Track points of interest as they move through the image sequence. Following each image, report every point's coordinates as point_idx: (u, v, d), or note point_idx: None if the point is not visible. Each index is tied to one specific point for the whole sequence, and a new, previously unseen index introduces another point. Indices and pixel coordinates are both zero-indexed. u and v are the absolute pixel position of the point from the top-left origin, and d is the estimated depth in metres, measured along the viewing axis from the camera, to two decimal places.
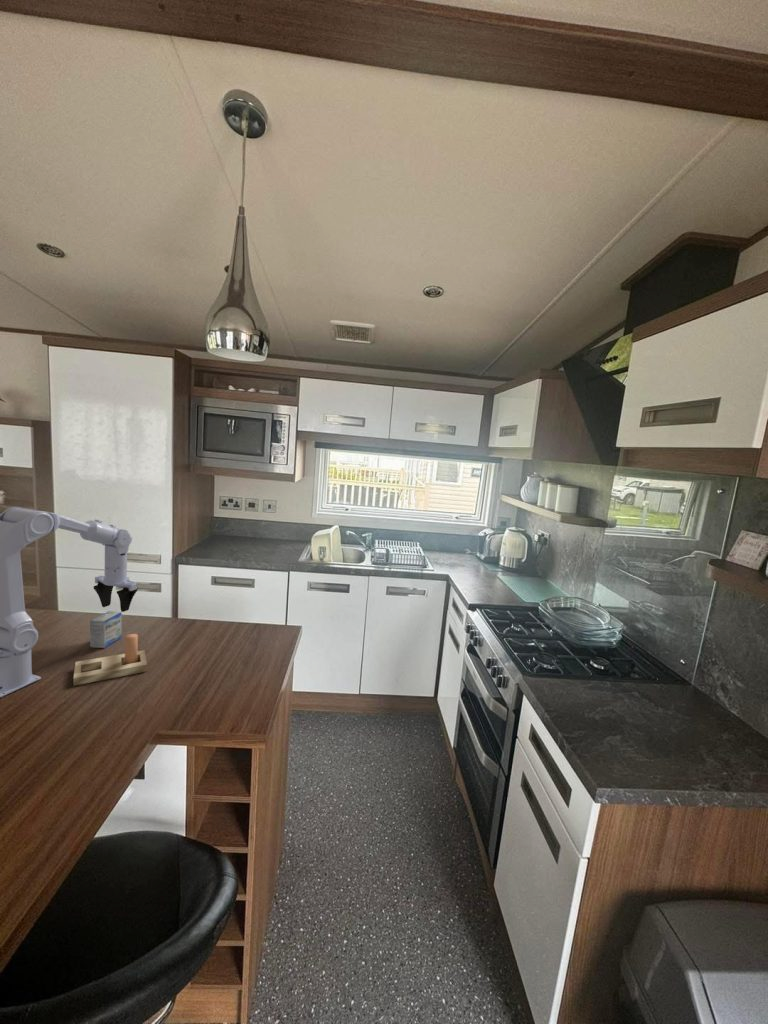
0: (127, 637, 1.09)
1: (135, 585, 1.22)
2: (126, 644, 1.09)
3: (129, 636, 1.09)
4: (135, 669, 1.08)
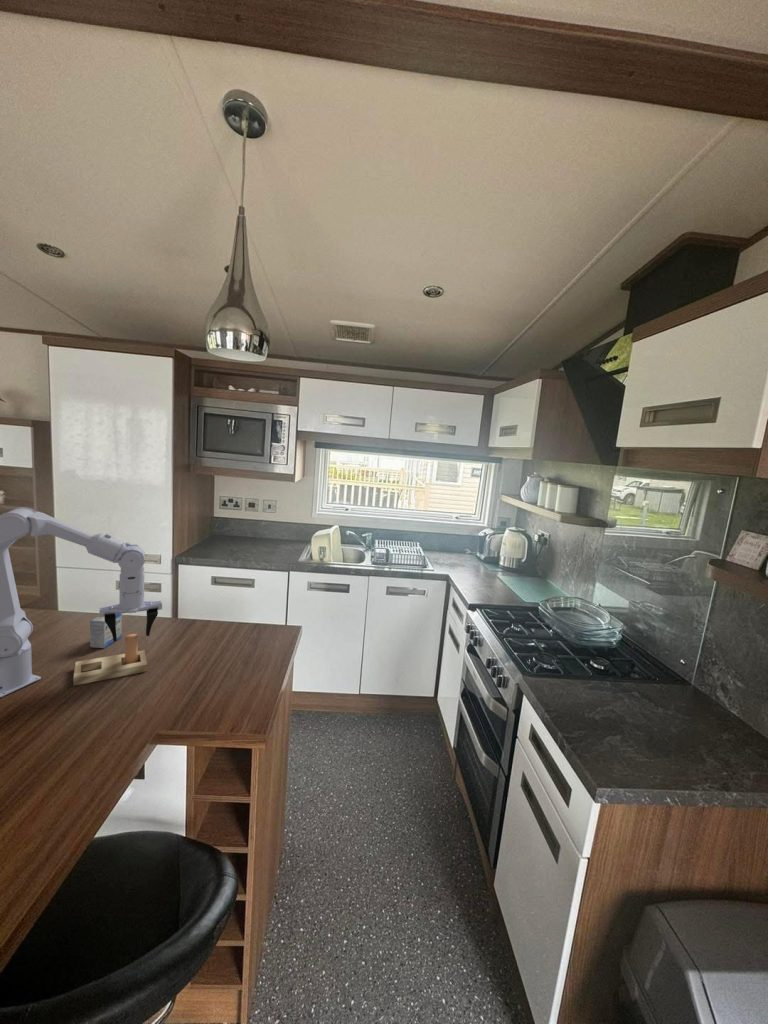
0: (127, 637, 1.09)
1: (99, 611, 1.04)
2: (126, 644, 1.09)
3: (129, 636, 1.09)
4: (135, 669, 1.08)
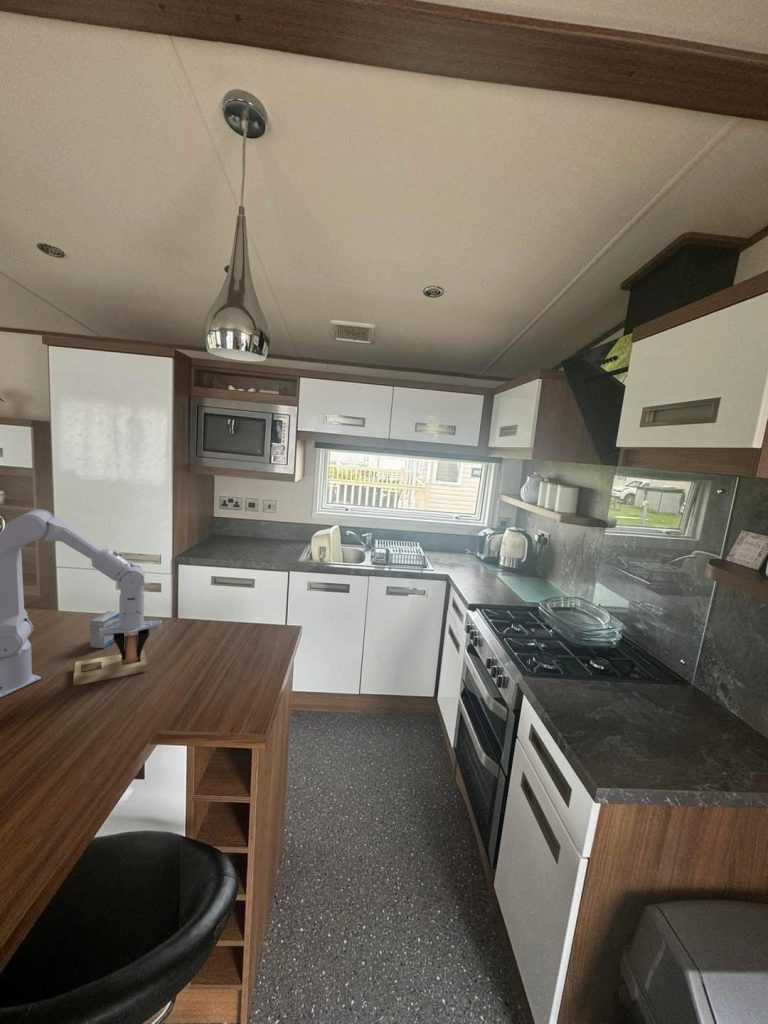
0: (127, 637, 1.09)
1: (99, 632, 1.05)
2: (126, 644, 1.09)
3: (129, 636, 1.09)
4: (135, 669, 1.08)
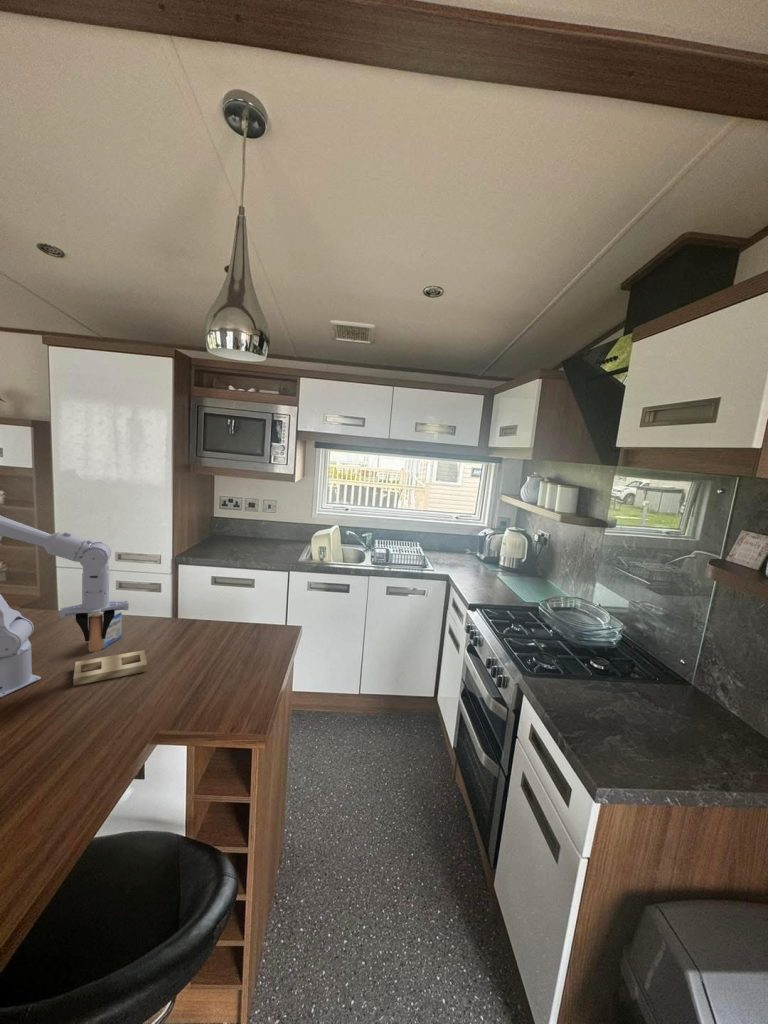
0: (90, 617, 1.03)
1: (60, 612, 0.99)
2: (90, 625, 1.03)
3: (93, 617, 1.04)
4: (135, 669, 1.08)
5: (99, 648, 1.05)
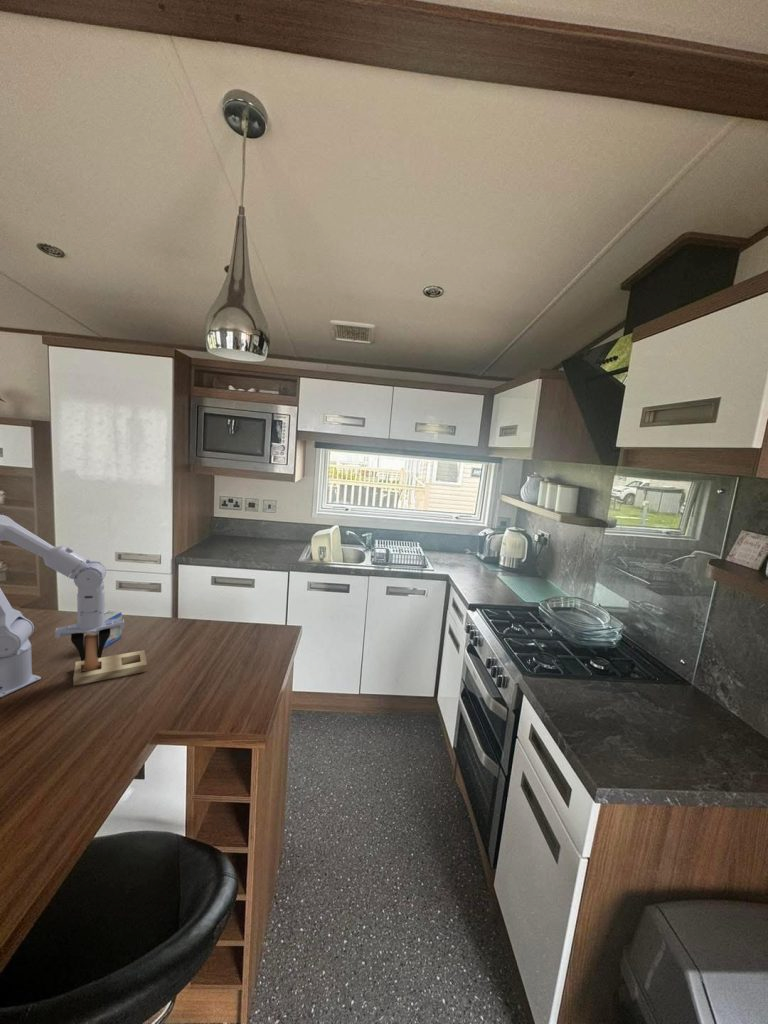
0: (86, 637, 1.04)
1: (55, 632, 1.00)
2: (85, 644, 1.03)
3: (89, 636, 1.04)
4: (135, 669, 1.08)
5: (95, 667, 1.05)
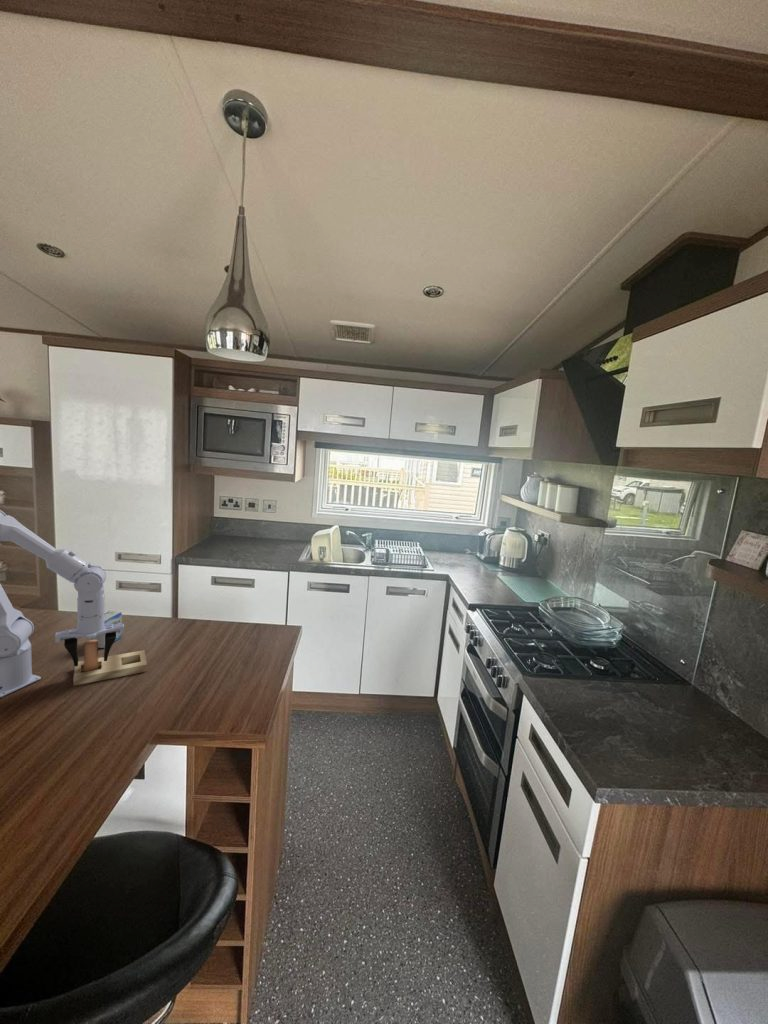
0: (86, 643, 1.04)
1: (55, 636, 1.00)
2: (85, 651, 1.03)
3: (89, 643, 1.04)
4: (135, 669, 1.08)
5: None
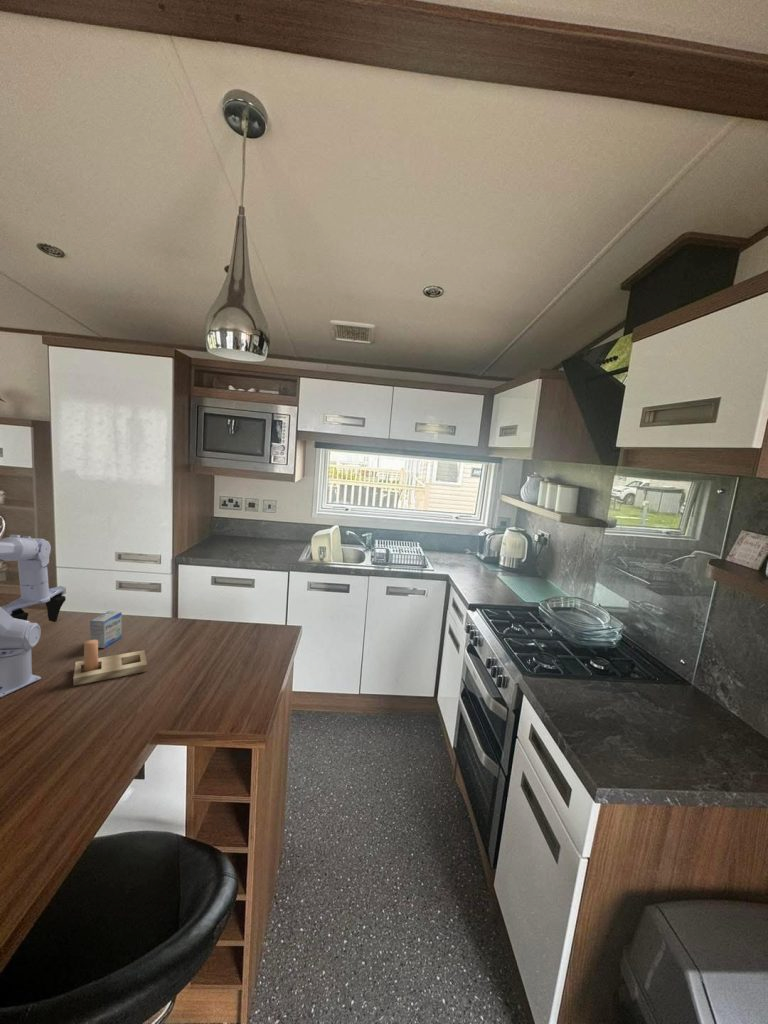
0: (86, 643, 1.04)
1: (5, 610, 0.99)
2: (85, 651, 1.03)
3: (89, 643, 1.04)
4: (135, 669, 1.08)
5: None
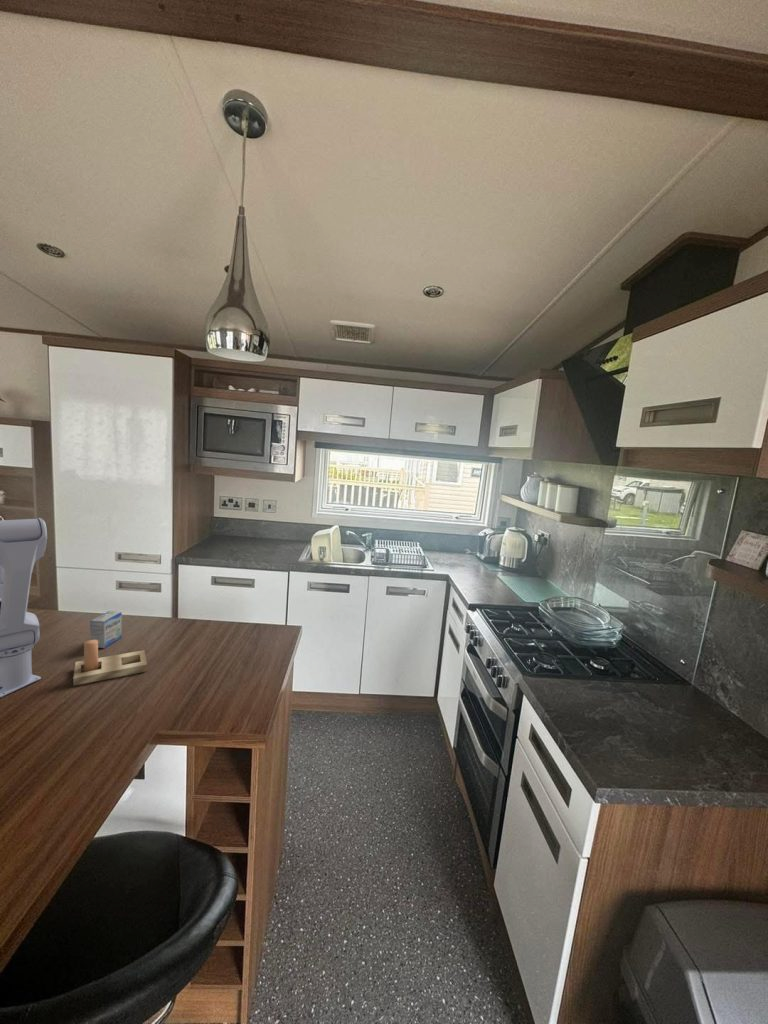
0: (86, 643, 1.04)
1: None
2: (85, 651, 1.03)
3: (89, 643, 1.04)
4: (135, 669, 1.08)
5: None
